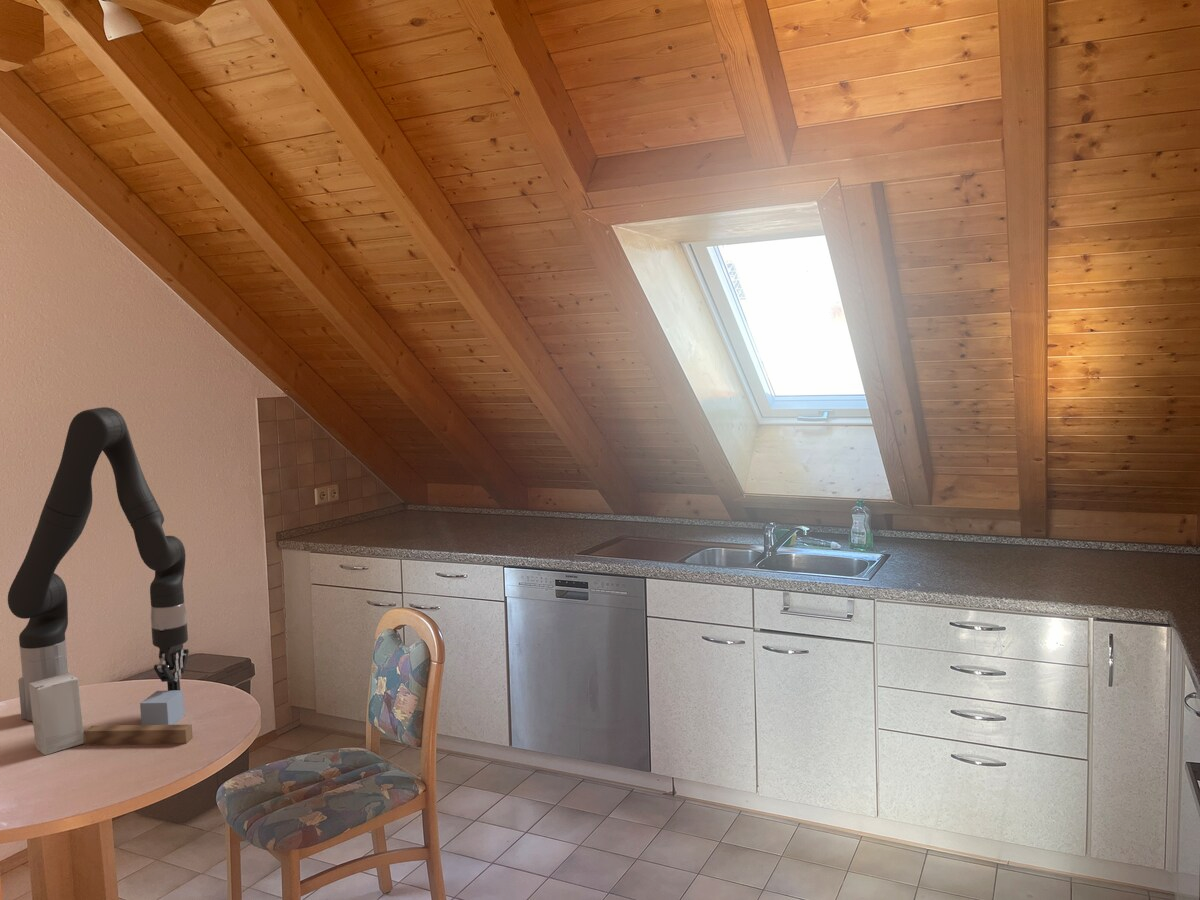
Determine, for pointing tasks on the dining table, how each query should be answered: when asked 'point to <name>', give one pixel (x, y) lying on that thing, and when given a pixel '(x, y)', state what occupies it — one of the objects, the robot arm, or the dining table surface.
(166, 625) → the robot arm
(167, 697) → the block
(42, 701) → the skincare box
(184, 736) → the board
